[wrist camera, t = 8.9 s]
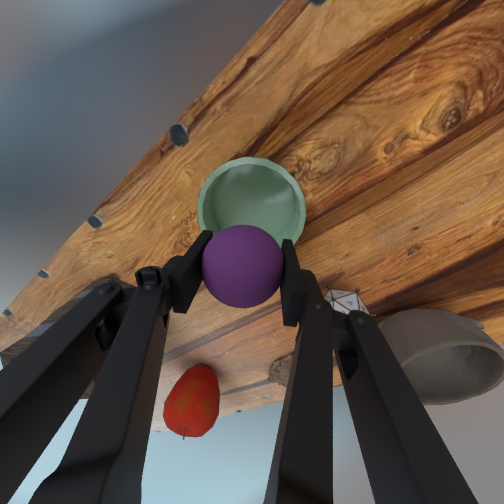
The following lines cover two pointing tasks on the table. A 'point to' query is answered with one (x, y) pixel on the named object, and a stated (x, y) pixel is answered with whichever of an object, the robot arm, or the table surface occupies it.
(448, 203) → the table surface
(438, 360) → the bowl
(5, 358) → the mug
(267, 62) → the table surface
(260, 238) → the plum ball
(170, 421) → the apple
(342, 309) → the game die
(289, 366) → the rock
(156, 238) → the table surface
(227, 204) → the green bowl
